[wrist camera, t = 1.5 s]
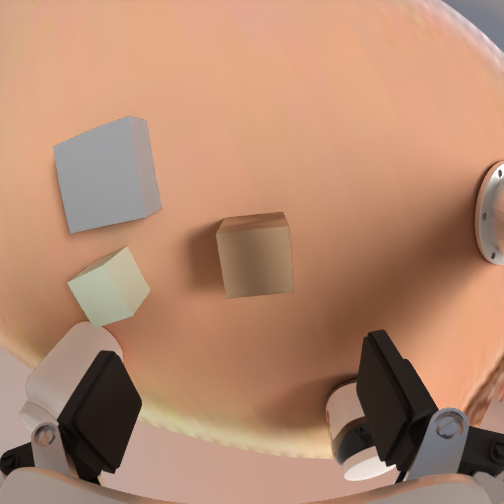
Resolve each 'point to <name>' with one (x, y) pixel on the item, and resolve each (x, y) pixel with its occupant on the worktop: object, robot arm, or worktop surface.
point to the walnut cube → (255, 255)
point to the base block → (107, 175)
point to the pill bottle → (63, 372)
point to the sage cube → (110, 288)
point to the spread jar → (351, 435)
